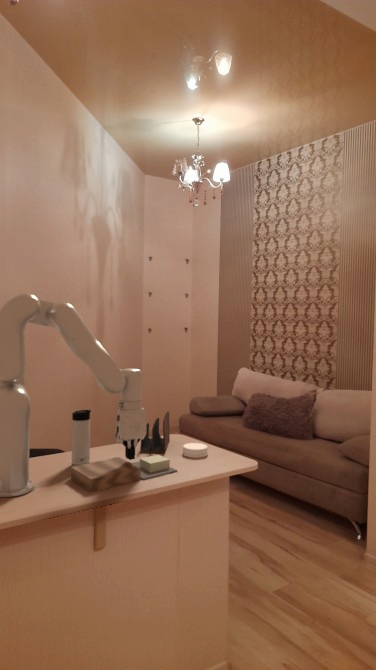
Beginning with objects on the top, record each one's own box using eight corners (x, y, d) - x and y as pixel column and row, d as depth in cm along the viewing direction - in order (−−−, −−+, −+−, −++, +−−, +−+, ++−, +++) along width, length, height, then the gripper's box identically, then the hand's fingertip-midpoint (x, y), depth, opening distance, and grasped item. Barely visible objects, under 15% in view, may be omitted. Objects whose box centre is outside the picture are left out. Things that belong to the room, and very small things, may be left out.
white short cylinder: (178, 452, 177) (178, 444, 177) (199, 449, 182) (199, 441, 182) (190, 459, 168) (190, 450, 168) (212, 456, 173) (212, 447, 173)
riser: (90, 492, 134) (90, 479, 134) (70, 479, 145) (70, 466, 145) (140, 479, 146) (140, 467, 145) (118, 468, 156) (118, 457, 156)
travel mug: (85, 468, 155) (86, 412, 155) (68, 467, 157) (69, 410, 156) (93, 463, 161) (93, 408, 161) (76, 461, 163) (77, 407, 162)
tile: (169, 459, 156) (169, 468, 156) (158, 454, 161) (158, 462, 162) (150, 463, 151) (150, 472, 151) (139, 458, 157) (139, 466, 157)
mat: (143, 480, 145) (143, 478, 145) (118, 467, 157) (118, 465, 157) (177, 471, 154) (177, 470, 154) (150, 460, 166) (150, 458, 166)
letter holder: (169, 441, 194) (170, 409, 194) (165, 454, 174) (165, 418, 174) (147, 440, 195) (147, 408, 194) (140, 453, 175) (140, 418, 175)
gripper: (117, 409, 143) (116, 465, 143) (155, 404, 152) (154, 457, 153) (105, 405, 149) (105, 459, 149) (143, 401, 158) (142, 452, 159)
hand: (130, 458), depth 151 cm, fingers closed
